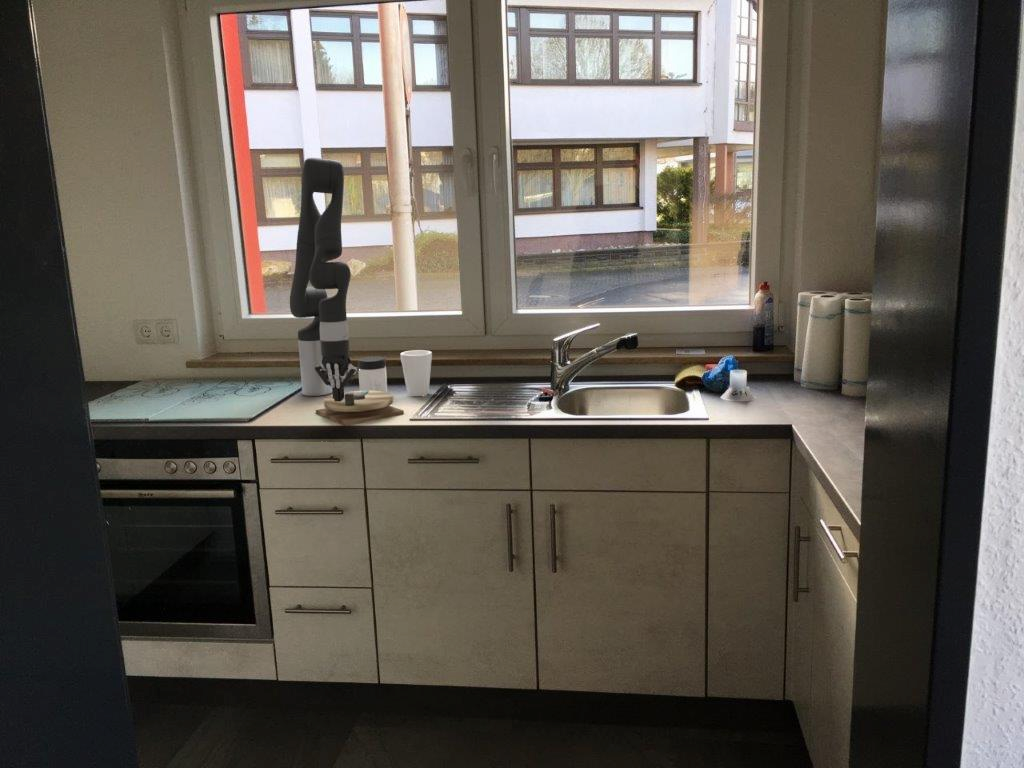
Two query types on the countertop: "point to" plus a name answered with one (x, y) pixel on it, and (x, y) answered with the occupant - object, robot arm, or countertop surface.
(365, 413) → the mount
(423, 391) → the foam cup
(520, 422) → the countertop surface
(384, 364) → the jar
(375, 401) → the handwheel
